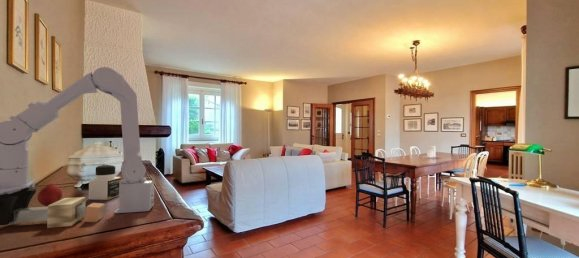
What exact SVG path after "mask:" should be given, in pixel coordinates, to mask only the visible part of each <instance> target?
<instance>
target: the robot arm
mask: <svg viewBox="0 0 579 258" xmlns="http://www.w3.org/2000/svg"><path fill="white" fill-rule="evenodd" d="M98 91H100V92H102V93H105V94H108V95H110V96H112V97H113V98H114V99H116V100H117V101H118V102H119V104H120V120H121V133H122V147H123V152H122V153H123V161H122V164H121V167H120V172H121V177H122V178H121V180H120V181H119V196H118V208H116V210H114V212H113V213H114V214H126V213H129V214H130V213H138V212H140V213H141V212H149V211H151V209H152V208H153V207H154V205H155V203H154V202H155V201H154V199H155V183H154V180H147V178H146V177H145V176H146V173H147V167H146V166H145V164H144V163H143V160H142V159H143V157H142V153H141V145H140V144H141V143H140V141H141V140H140V128H139V115H138V114H139V113H138V111H139V109H138V97H137V93H136V92H135V90H134V89H133V88H132V87H131V85H129V83H128V82H127V81H126V79H125V77H124V76H123V75H122V74H121V73H119V72H118V71H116V70H115V69H113V68H111V67H107V66H101V67H99V68H96V69H95V70H94V71H93V72H89V73H87V74H85V75H84V76H82V77H81V78H79V79H77V80H76V81H75V82H73V83H72V84H70V85H69V86H68V87H66V88H65V89H63V90H62V91H61V92H59V93H58V94H57V95H55V96H54V97H52V98H51V99H50V100H48V101H43V100H41V101H40V100H39V101H37V102H35V103H34V102H30V103H28V104H27V106H28V108H26V109H24V110H23V111H21V112H20V113H18V114H17V115H11V116H10V117H9V118H8V119H10V120H3V121H1V122H0V226H8V225H10V220H11V215H12V210H15V209H17V208H29V205H30V203H31V200H32V198H33V197H34V195H35V194H36V193H37V189H36V188H35V187H36V186H35V185H36V180H35V179H32V180H30V179H29V154H30V151H29V140H31V138H32V136H33V133H38V131H39V132H40V130H42V129H43V128H45V127H46V126H48V125H49V124H50V123H52V122H54V121H55V120H56V119H58V118H59V114H60V113H59V112H60V110H61V109H64V108H65V107H66V106H68V105H70V104H71V103H73V102H74V101H76V100H78V99H79V98H81V97H82V96H83V95H85V94H96V93H98Z"/></svg>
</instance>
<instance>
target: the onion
mask: <svg viewBox="0 0 579 258" xmlns="http://www.w3.org/2000/svg"><path fill="white" fill-rule="evenodd" d="M62 197H63V191H62V190H61V188H60V187H58V186H57V185H55V183H54V181H53V182H49V183H48V184H47V185H45V186H44V187H43V188H42V189H41V190H39V192H38V194H37V201H38V203H39V204H41V205H42V206H43V207H46V206H48V205H51V204H53V203H55V202H57V201H59V200H62V199H63V198H62Z"/></svg>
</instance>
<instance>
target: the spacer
mask: <svg viewBox="0 0 579 258" xmlns="http://www.w3.org/2000/svg"><path fill="white" fill-rule="evenodd" d="M105 205H106V204H105V203H104V202H103V203H101V202H99V203H98V202H92V203H90V204H88V205H87V206H86V208H85V217H84V218H83V222H85V223H97V222H99V221H100V220H101V219H102V218H104V217H103V216H104V212H105V211H104V210H105Z"/></svg>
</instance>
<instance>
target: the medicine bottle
mask: <svg viewBox="0 0 579 258" xmlns="http://www.w3.org/2000/svg"><path fill="white" fill-rule="evenodd" d="M121 177H122V176H116V166H115V165H113V164H102V165H98V166H96V167H95V178H93V179H89V180H88V200H91V201H92V200H94V201H96V200H97V201H105V200H106V201H108V200H112V199H115V198H117V197H119V181H120V180H121V179H122V178H121Z"/></svg>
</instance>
